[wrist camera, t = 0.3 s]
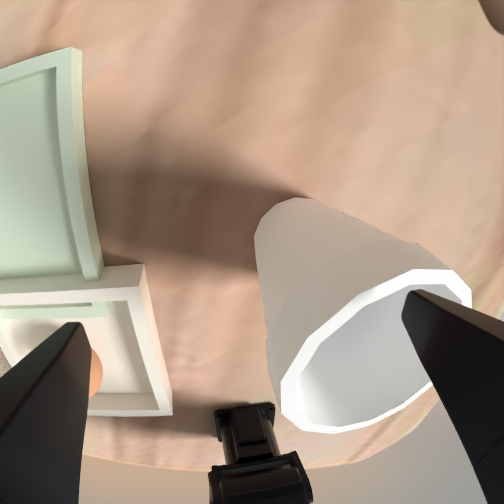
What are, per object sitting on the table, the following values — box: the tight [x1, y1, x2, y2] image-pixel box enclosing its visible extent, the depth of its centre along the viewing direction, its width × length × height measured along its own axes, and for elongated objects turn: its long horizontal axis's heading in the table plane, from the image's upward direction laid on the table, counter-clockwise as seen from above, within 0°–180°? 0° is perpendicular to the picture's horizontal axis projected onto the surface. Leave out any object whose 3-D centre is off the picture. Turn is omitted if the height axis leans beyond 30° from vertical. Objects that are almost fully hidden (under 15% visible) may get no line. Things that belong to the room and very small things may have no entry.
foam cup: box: [254, 197, 472, 434], centre depth 17 cm, size 10×9×13 cm
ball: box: [89, 348, 103, 398], centre depth 20 cm, size 5×5×5 cm
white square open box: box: [0, 264, 173, 417], centre depth 22 cm, size 14×14×3 cm
